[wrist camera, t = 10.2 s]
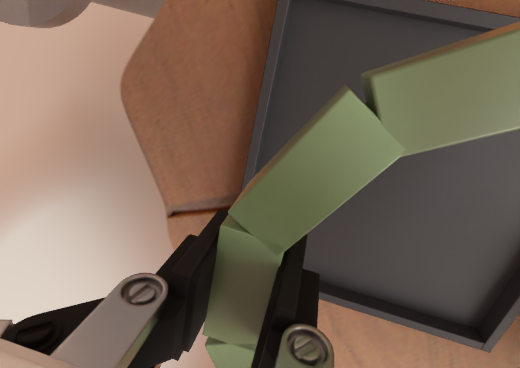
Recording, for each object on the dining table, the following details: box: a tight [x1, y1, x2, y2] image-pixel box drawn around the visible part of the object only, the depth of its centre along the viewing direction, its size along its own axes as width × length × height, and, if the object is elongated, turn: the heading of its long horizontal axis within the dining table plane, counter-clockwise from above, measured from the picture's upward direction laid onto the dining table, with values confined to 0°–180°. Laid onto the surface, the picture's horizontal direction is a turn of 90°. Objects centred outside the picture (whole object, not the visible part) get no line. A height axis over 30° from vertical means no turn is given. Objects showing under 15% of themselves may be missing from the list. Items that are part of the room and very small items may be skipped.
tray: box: [241, 0, 520, 352], centre depth 23 cm, size 24×24×2 cm
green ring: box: [203, 21, 520, 368], centre depth 10 cm, size 19×19×3 cm
